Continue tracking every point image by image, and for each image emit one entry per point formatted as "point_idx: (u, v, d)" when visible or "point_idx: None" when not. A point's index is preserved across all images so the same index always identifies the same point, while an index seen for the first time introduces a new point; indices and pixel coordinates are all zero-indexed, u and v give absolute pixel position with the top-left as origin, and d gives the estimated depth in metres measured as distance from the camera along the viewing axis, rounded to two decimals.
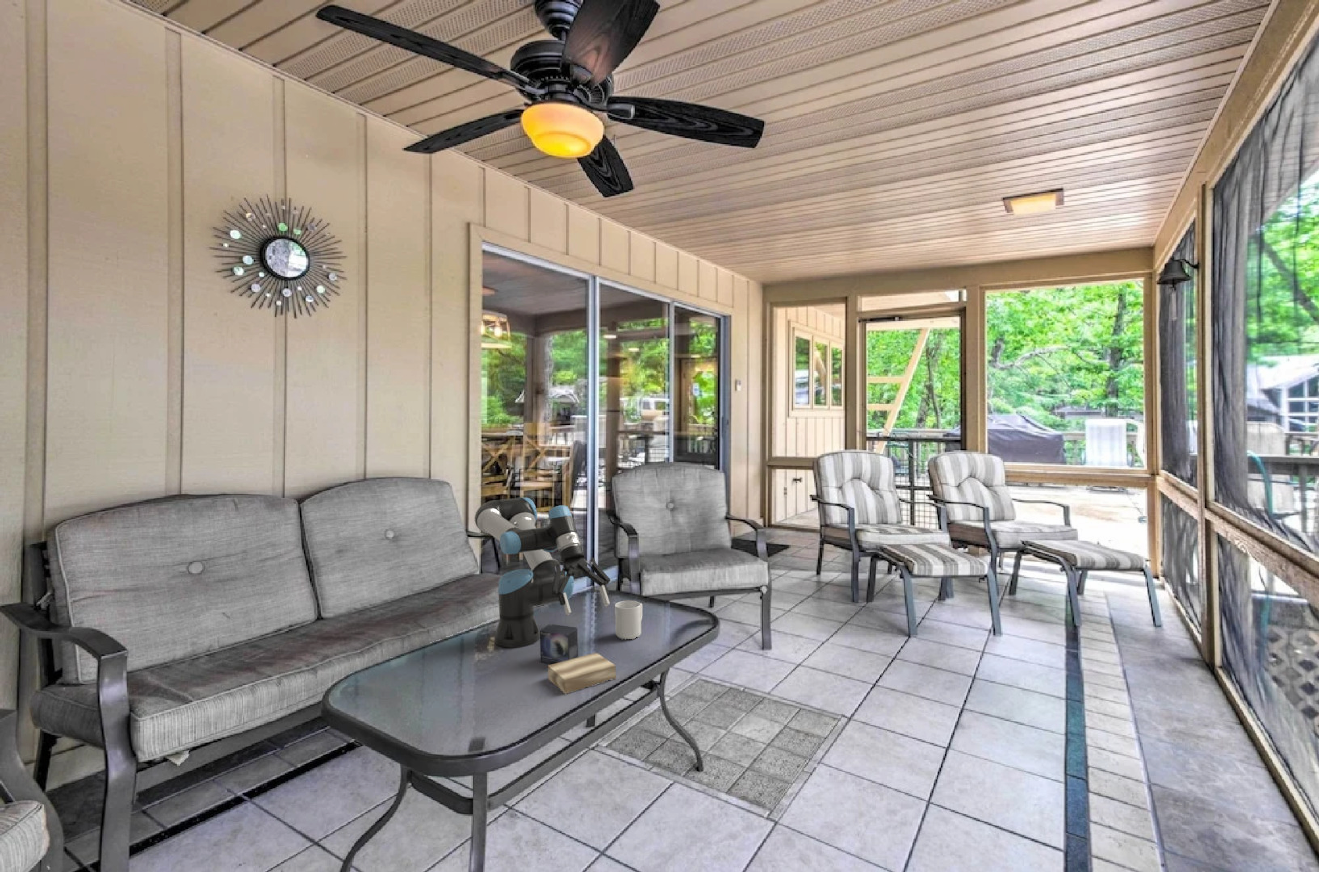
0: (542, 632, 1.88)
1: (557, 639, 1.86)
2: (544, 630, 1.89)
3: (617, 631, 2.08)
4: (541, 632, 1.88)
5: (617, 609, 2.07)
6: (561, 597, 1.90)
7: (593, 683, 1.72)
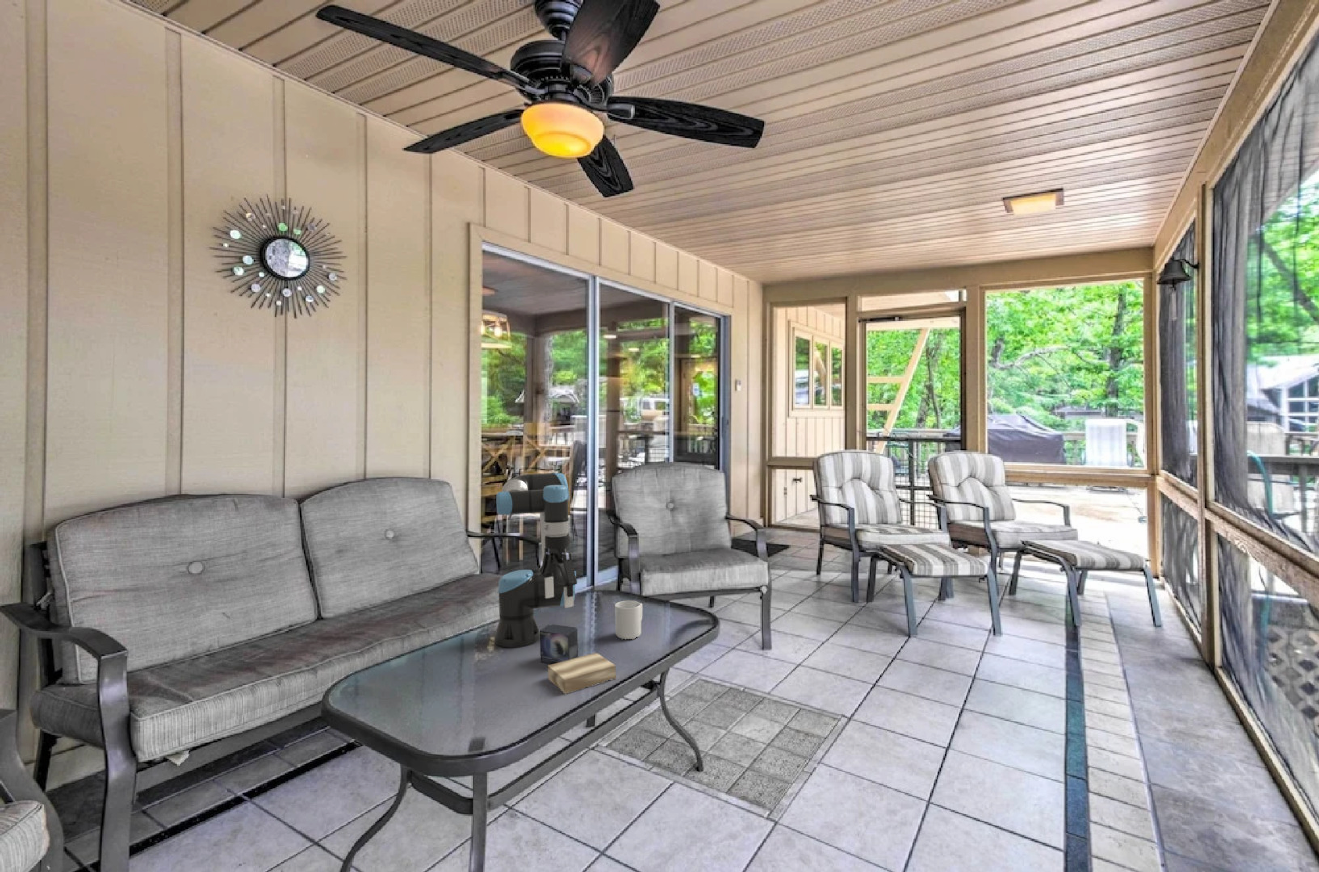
0: (542, 632, 1.88)
1: (557, 639, 1.86)
2: (544, 630, 1.89)
3: (617, 631, 2.08)
4: (541, 632, 1.88)
5: (617, 609, 2.07)
6: None
7: (593, 683, 1.72)
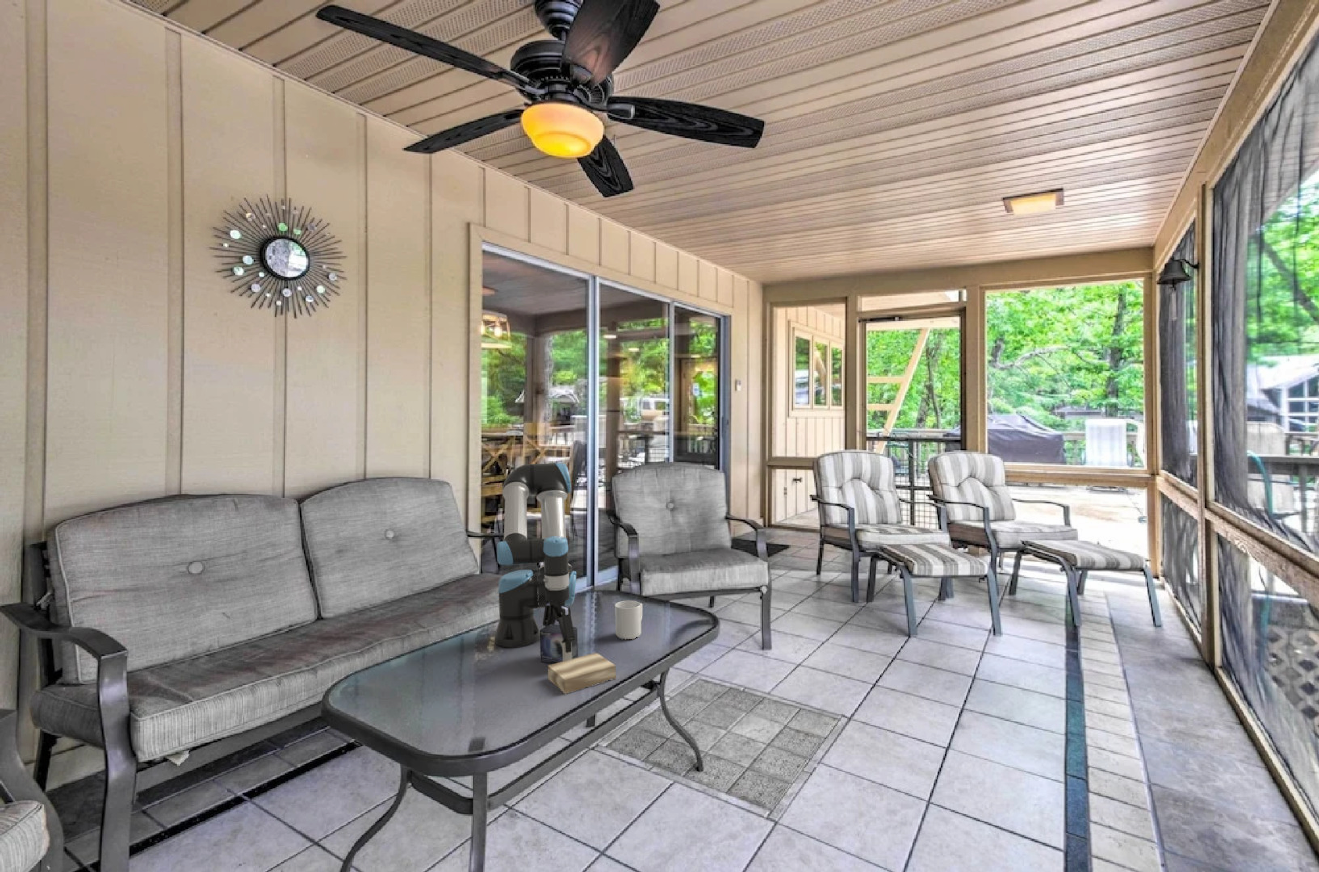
0: (542, 632, 1.88)
1: (557, 639, 1.86)
2: (544, 630, 1.89)
3: (617, 631, 2.08)
4: (541, 632, 1.88)
5: (617, 609, 2.07)
6: None
7: (593, 683, 1.72)
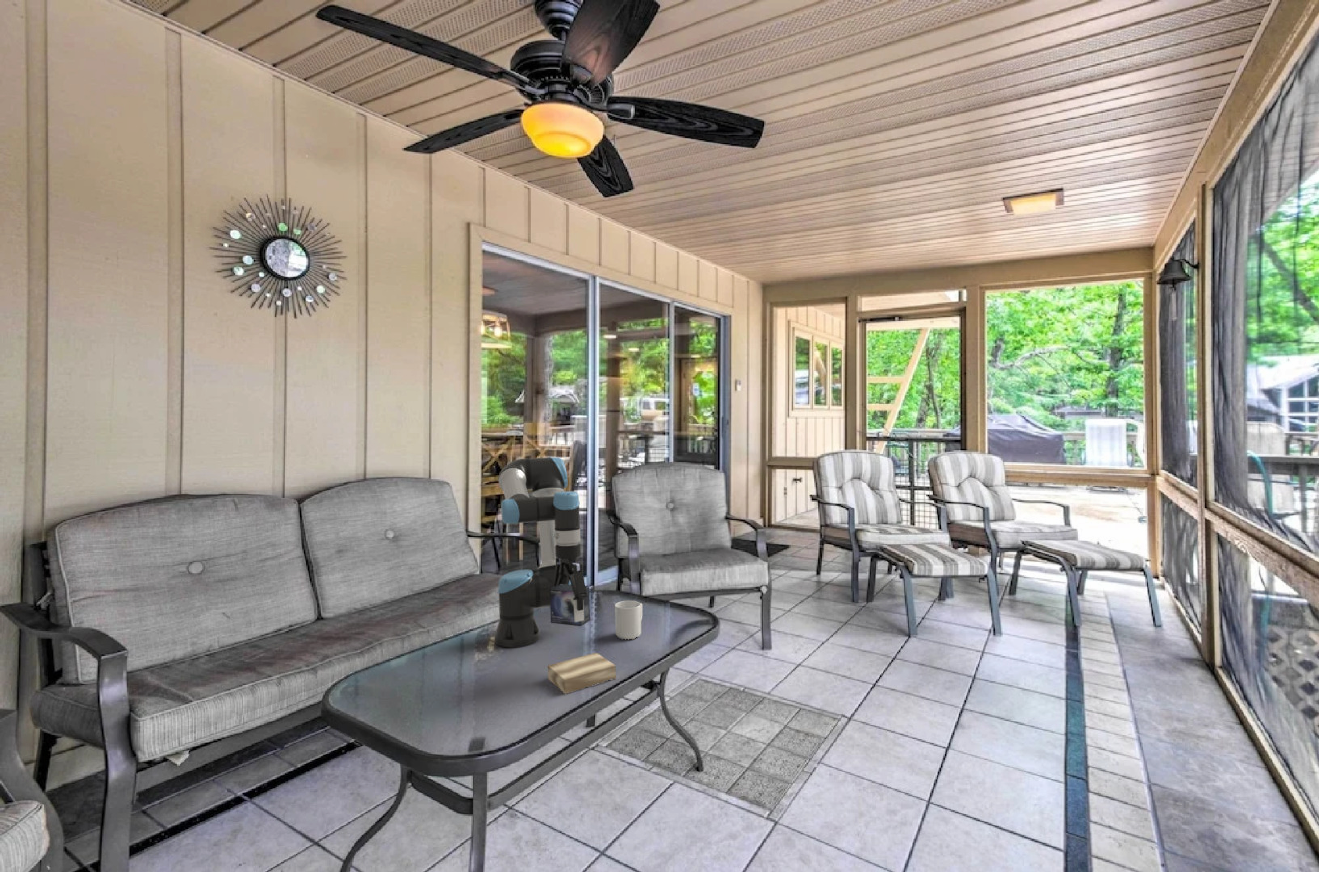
0: (552, 590, 1.79)
1: (568, 597, 1.77)
2: (554, 588, 1.80)
3: (617, 631, 2.08)
4: (551, 591, 1.80)
5: (617, 609, 2.07)
6: None
7: (593, 683, 1.72)
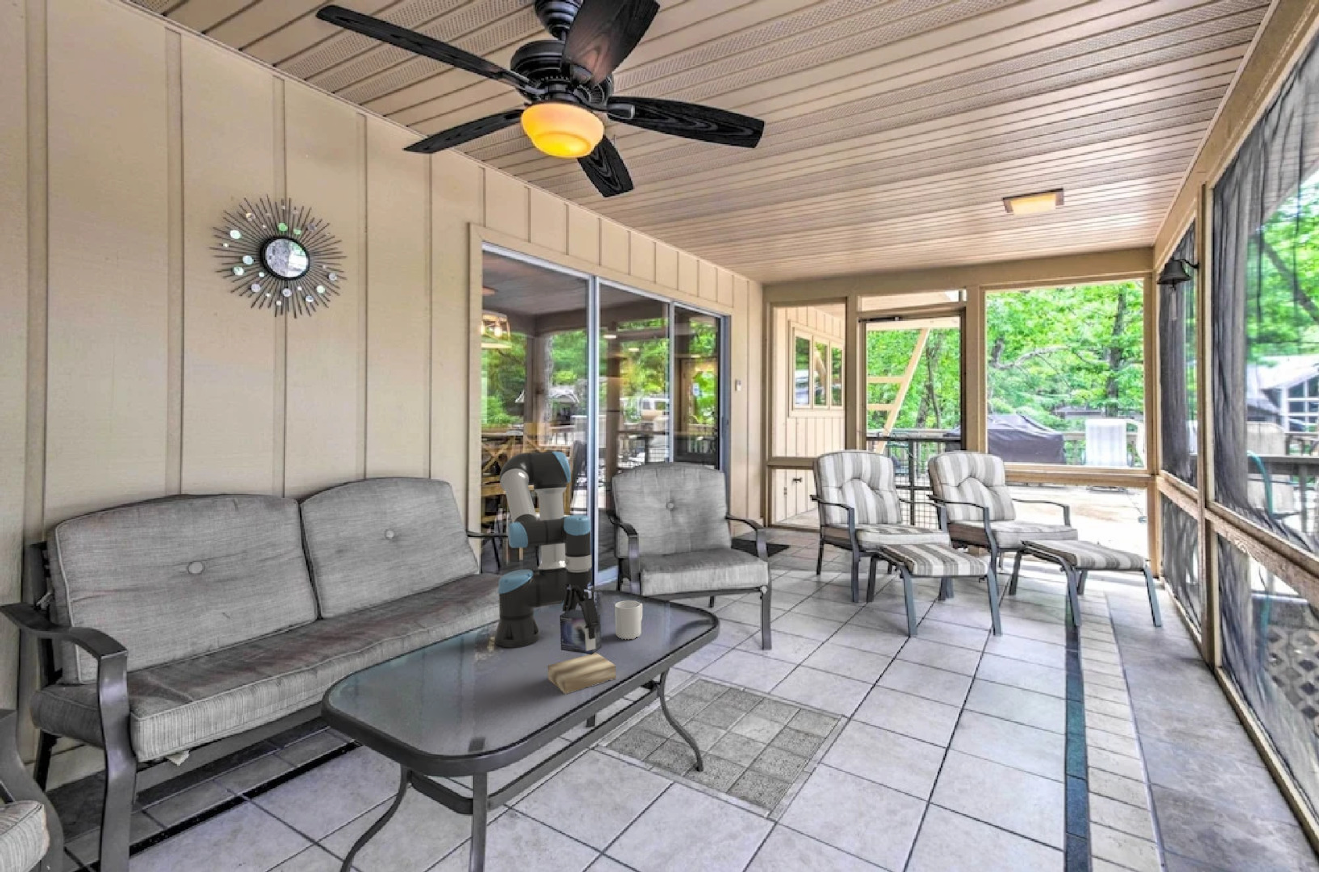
0: (563, 617, 1.74)
1: (579, 625, 1.72)
2: (565, 615, 1.75)
3: (617, 631, 2.08)
4: (561, 617, 1.75)
5: (617, 609, 2.07)
6: None
7: (593, 683, 1.72)
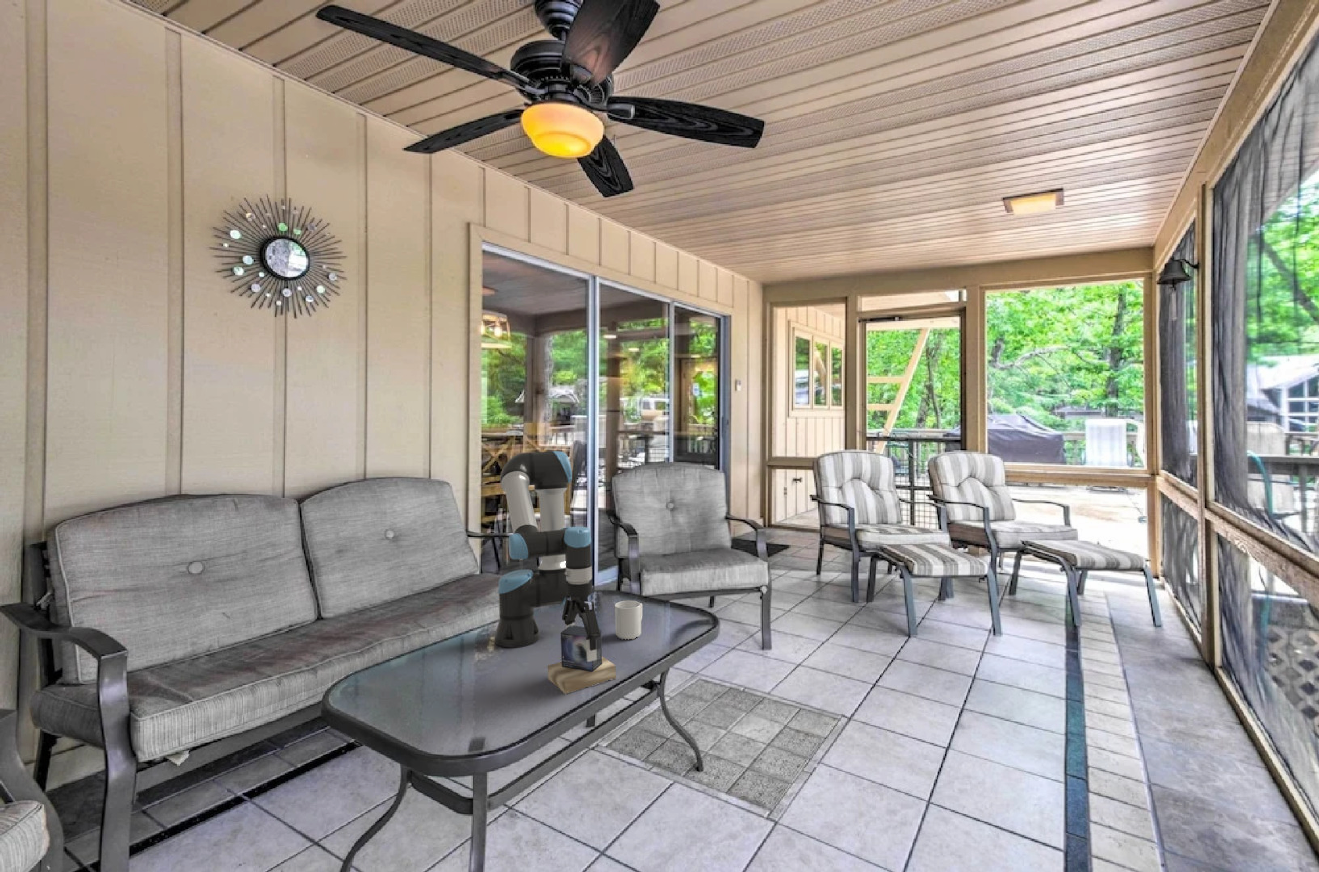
0: (563, 634, 1.74)
1: (580, 642, 1.72)
2: (565, 632, 1.75)
3: (617, 631, 2.08)
4: (562, 634, 1.75)
5: (617, 609, 2.07)
6: None
7: (593, 683, 1.72)
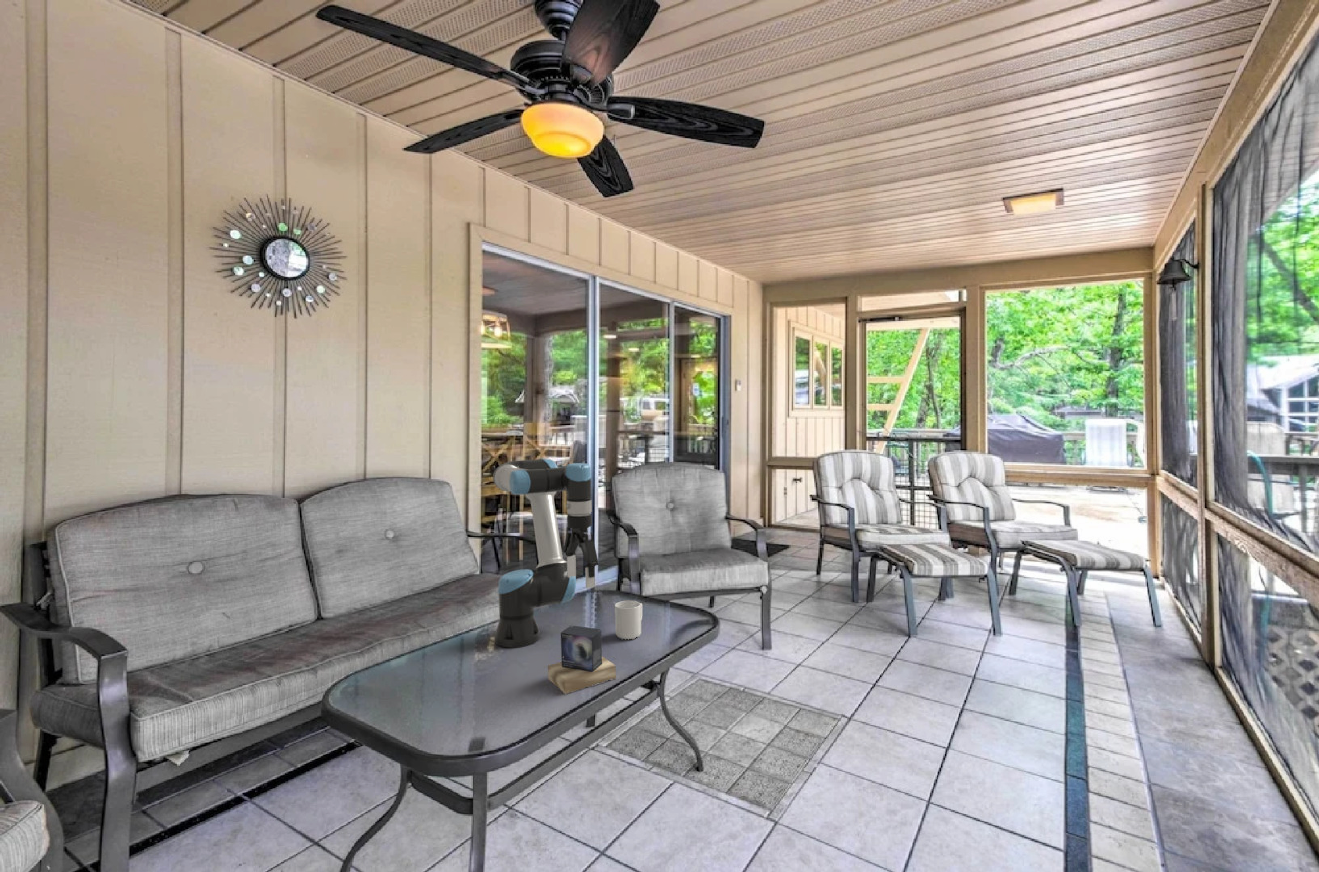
0: (563, 634, 1.74)
1: (580, 642, 1.72)
2: (565, 632, 1.75)
3: (617, 631, 2.08)
4: (562, 634, 1.75)
5: (617, 609, 2.07)
6: None
7: (593, 683, 1.72)
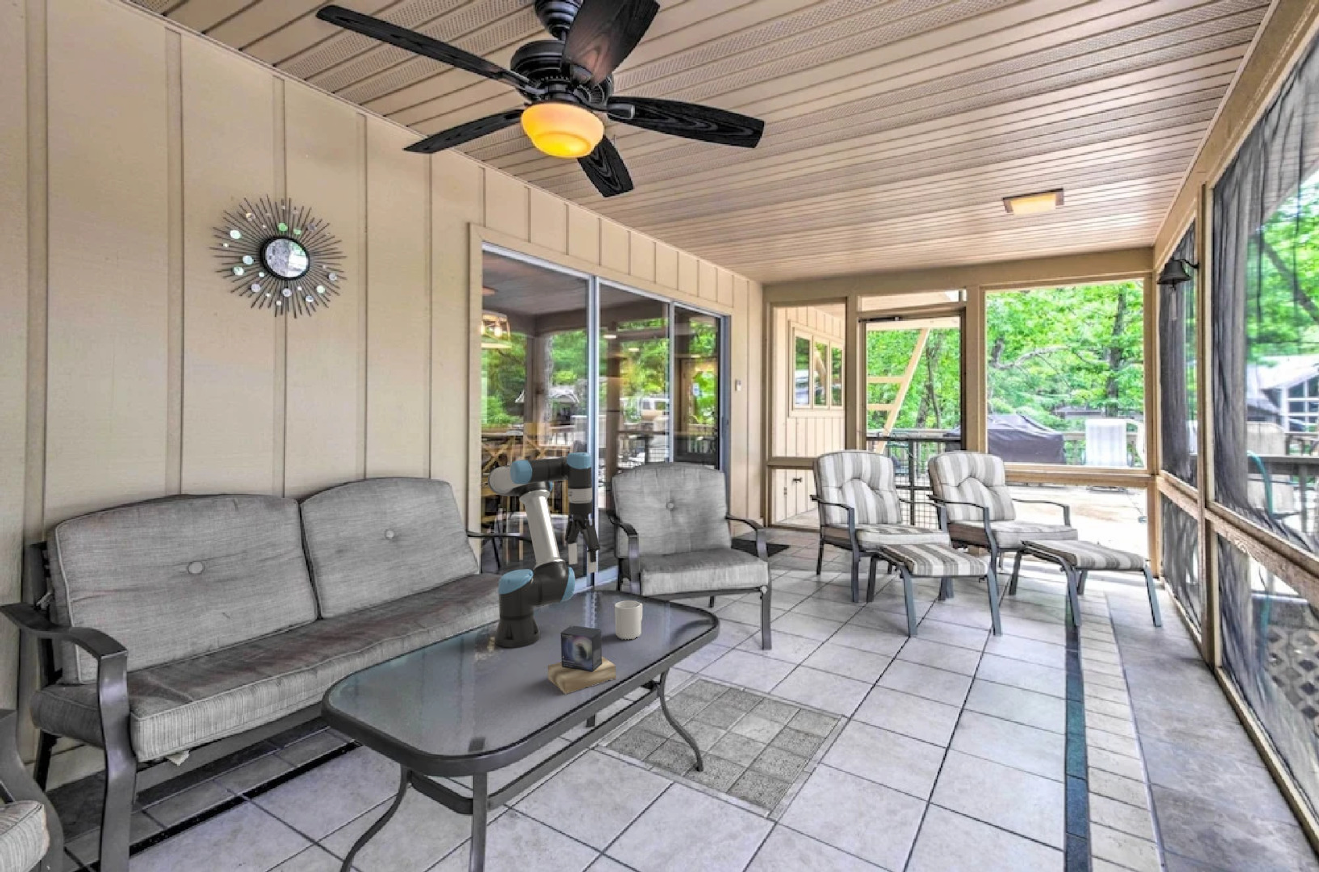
0: (563, 634, 1.74)
1: (580, 642, 1.72)
2: (565, 632, 1.75)
3: (617, 631, 2.08)
4: (562, 634, 1.75)
5: (617, 609, 2.07)
6: None
7: (593, 683, 1.72)
